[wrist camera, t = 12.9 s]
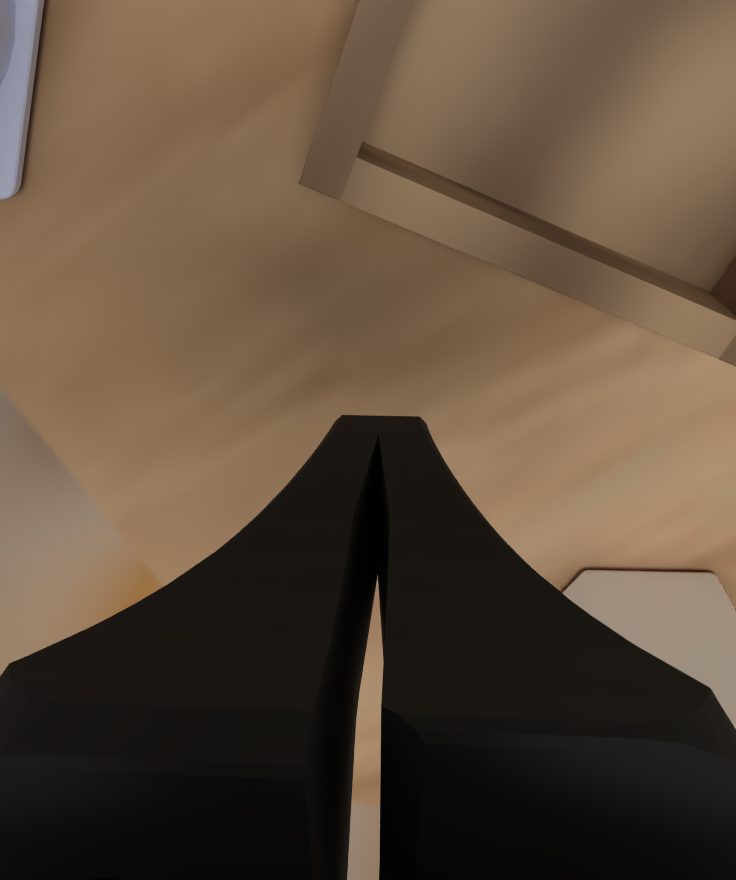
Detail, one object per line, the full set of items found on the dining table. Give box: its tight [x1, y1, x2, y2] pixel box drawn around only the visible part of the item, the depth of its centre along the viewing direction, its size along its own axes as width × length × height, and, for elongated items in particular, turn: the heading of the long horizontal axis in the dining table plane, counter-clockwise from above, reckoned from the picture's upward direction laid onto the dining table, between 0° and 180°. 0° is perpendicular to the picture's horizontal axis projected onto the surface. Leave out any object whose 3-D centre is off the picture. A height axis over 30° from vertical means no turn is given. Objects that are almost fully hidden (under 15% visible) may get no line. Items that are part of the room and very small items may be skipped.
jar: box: [562, 570, 736, 729], centre depth 22 cm, size 9×8×12 cm
